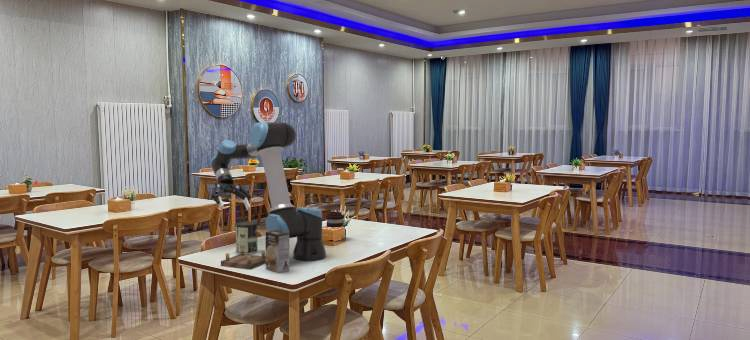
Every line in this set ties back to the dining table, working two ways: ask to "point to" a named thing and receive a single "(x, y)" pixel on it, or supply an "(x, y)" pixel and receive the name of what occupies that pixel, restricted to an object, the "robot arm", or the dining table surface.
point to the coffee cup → (334, 219)
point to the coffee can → (246, 237)
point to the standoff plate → (244, 260)
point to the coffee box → (277, 251)
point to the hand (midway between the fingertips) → (235, 208)
